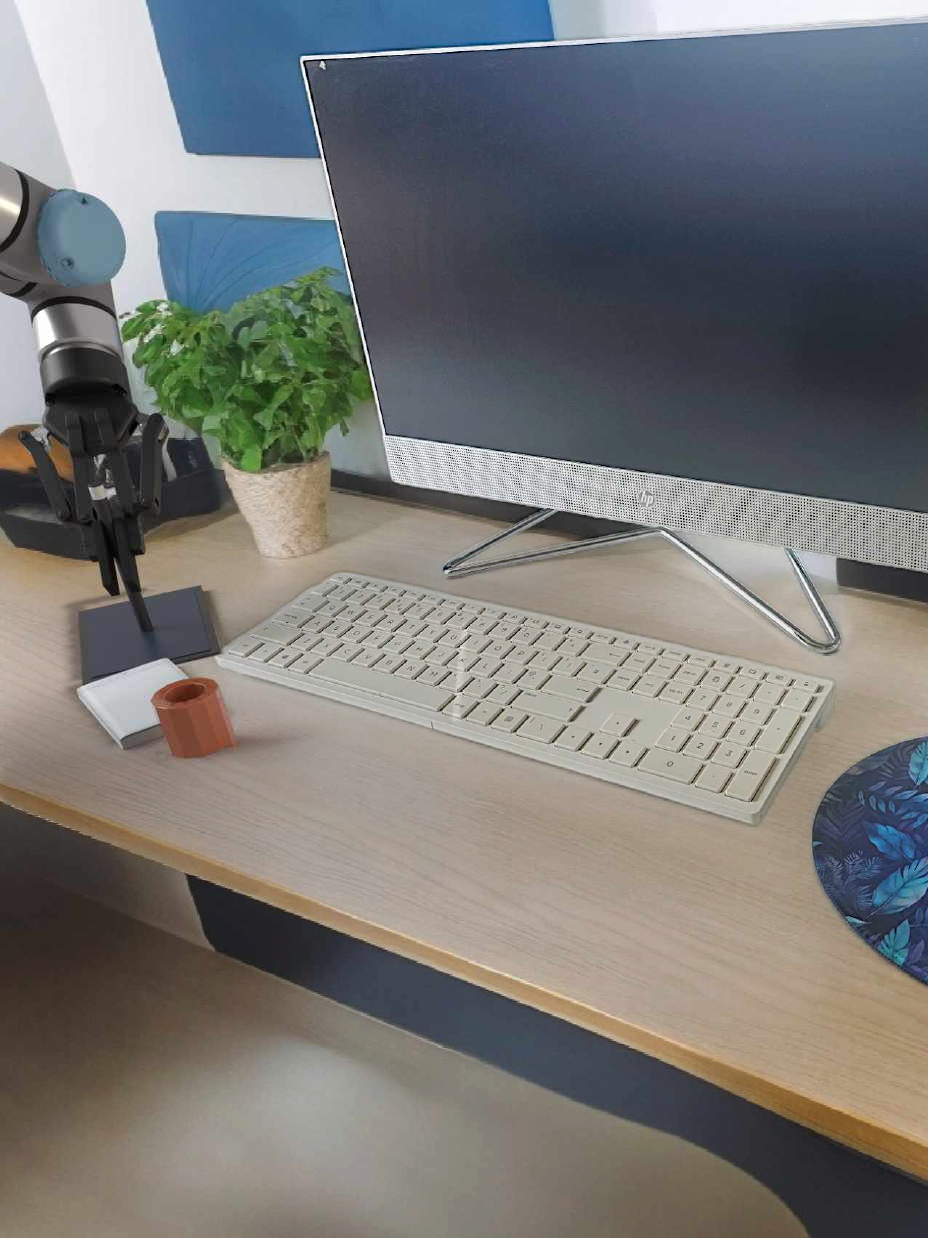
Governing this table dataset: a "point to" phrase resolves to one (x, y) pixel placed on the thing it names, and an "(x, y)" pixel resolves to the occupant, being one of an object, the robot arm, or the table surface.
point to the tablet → (146, 634)
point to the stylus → (109, 528)
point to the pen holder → (193, 718)
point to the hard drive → (130, 701)
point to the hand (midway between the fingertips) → (122, 588)
